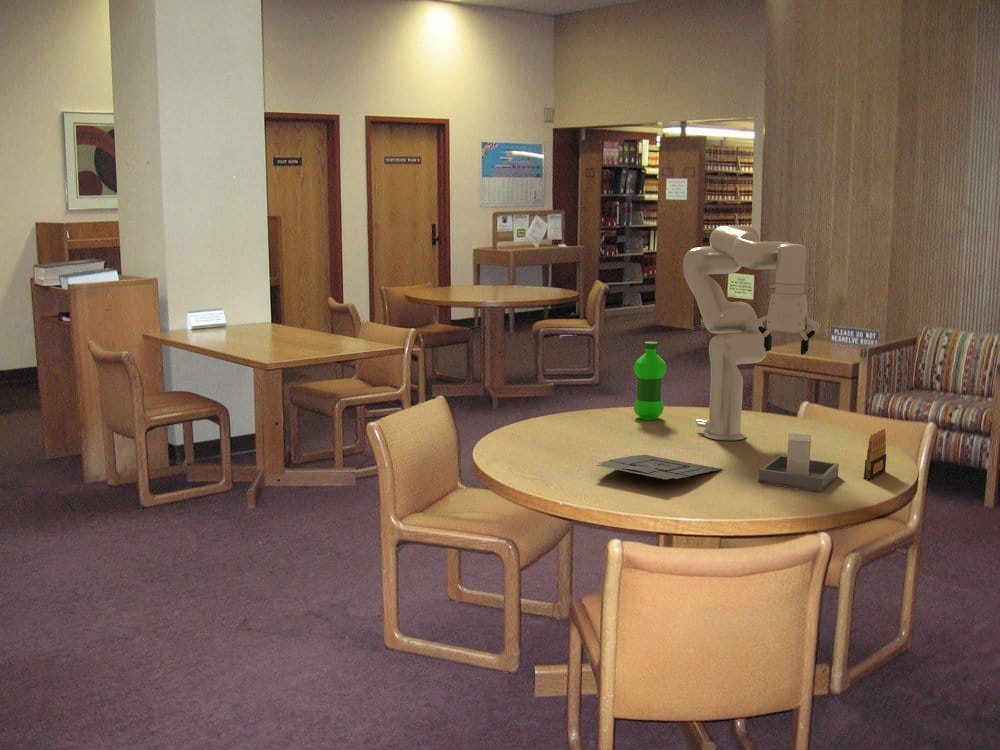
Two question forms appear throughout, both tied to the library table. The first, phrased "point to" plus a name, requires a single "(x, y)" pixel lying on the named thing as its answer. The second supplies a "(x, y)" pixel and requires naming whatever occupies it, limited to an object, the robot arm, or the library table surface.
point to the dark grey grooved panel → (656, 466)
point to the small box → (798, 454)
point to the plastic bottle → (649, 383)
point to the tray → (816, 481)
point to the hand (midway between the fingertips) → (785, 352)
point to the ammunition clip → (876, 455)
